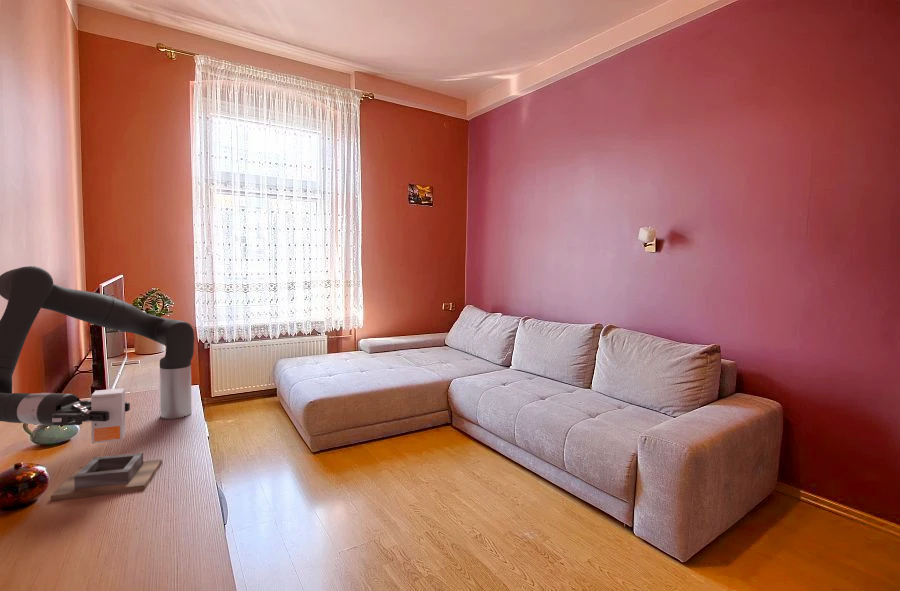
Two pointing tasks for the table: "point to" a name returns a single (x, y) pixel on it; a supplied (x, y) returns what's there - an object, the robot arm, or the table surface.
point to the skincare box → (116, 407)
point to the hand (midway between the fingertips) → (118, 411)
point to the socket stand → (109, 476)
